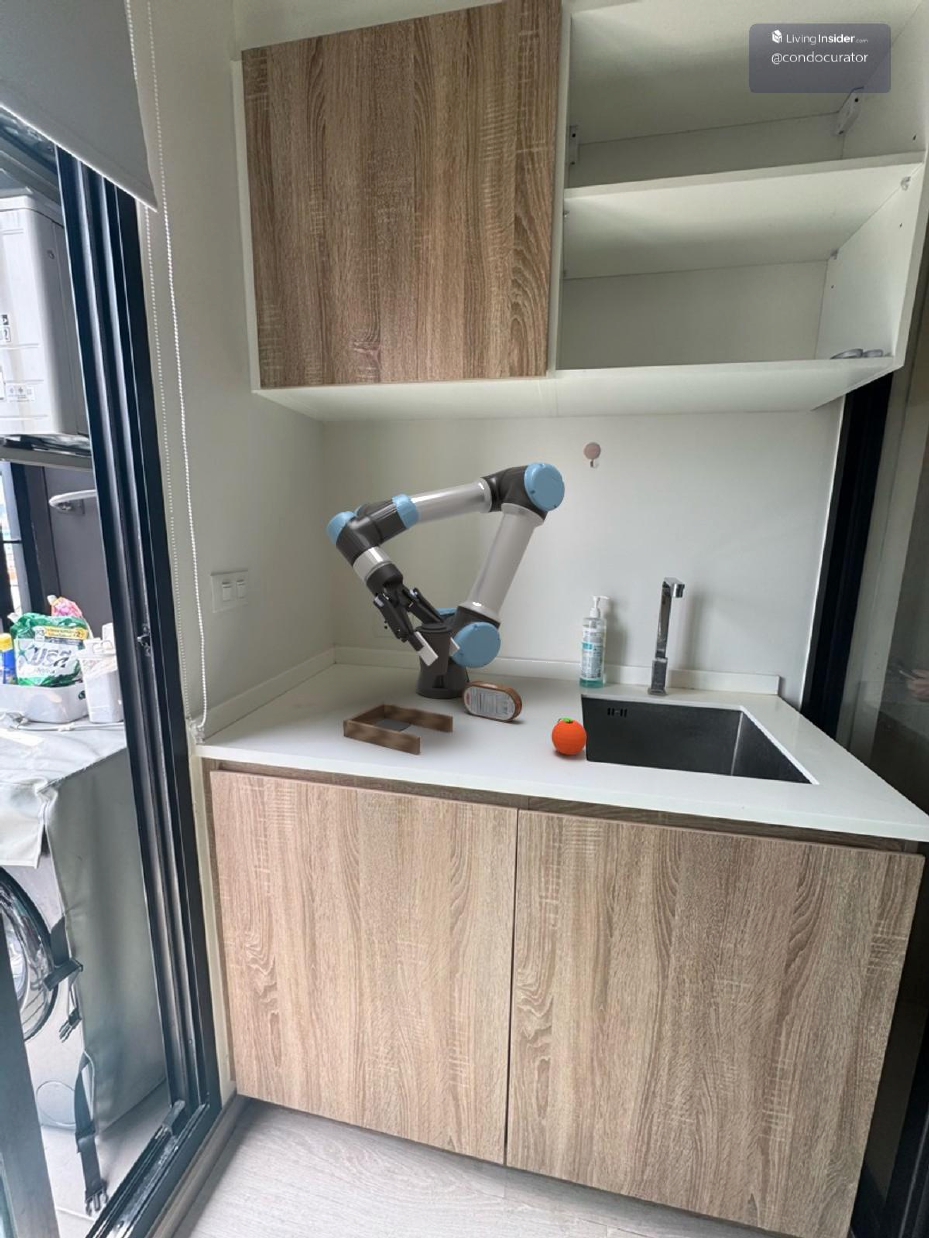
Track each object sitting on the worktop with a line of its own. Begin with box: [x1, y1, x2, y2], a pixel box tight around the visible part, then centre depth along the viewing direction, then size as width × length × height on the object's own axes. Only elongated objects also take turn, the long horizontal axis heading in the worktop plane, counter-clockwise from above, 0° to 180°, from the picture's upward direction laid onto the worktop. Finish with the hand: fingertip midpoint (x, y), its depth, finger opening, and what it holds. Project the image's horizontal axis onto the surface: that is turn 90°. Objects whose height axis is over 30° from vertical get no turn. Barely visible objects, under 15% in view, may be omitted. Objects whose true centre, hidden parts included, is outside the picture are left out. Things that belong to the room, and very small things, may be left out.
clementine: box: [551, 717, 588, 756], centre depth 105 cm, size 8×7×7 cm
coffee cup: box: [414, 623, 454, 676], centre depth 108 cm, size 8×8×10 cm
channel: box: [342, 701, 454, 756], centre depth 114 cm, size 19×14×4 cm
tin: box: [461, 680, 523, 723], centre depth 124 cm, size 15×3×8 cm, turn 59°
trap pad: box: [372, 718, 412, 732], centre depth 116 cm, size 7×11×1 cm, turn 151°
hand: (444, 656), depth 107 cm, fingers closed on coffee cup, 8 cm apart
